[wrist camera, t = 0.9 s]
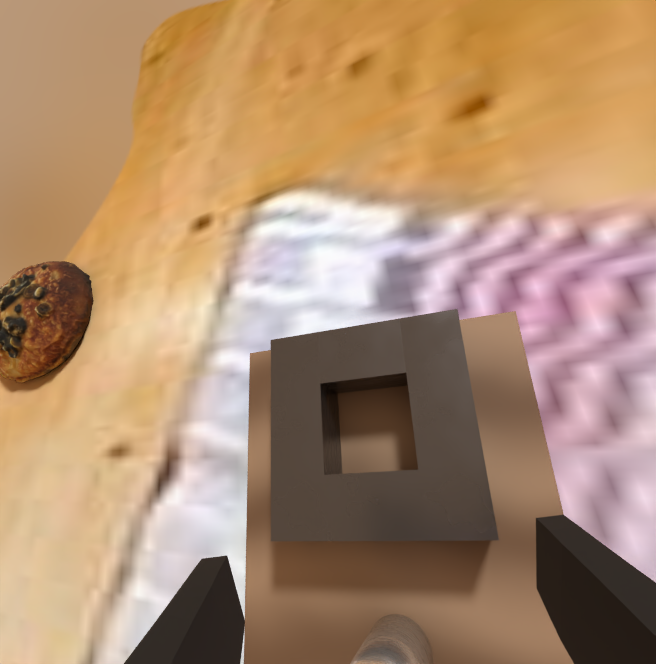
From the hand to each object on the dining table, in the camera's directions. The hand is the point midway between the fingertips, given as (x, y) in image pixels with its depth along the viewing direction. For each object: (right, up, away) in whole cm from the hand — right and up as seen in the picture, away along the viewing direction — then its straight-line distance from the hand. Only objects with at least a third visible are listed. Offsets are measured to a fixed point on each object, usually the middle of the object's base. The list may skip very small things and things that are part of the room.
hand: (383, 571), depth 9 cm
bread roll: (-26, +6, +26) cm, 37 cm away
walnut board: (+2, -4, +12) cm, 12 cm away
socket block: (+2, 0, +13) cm, 13 cm away
